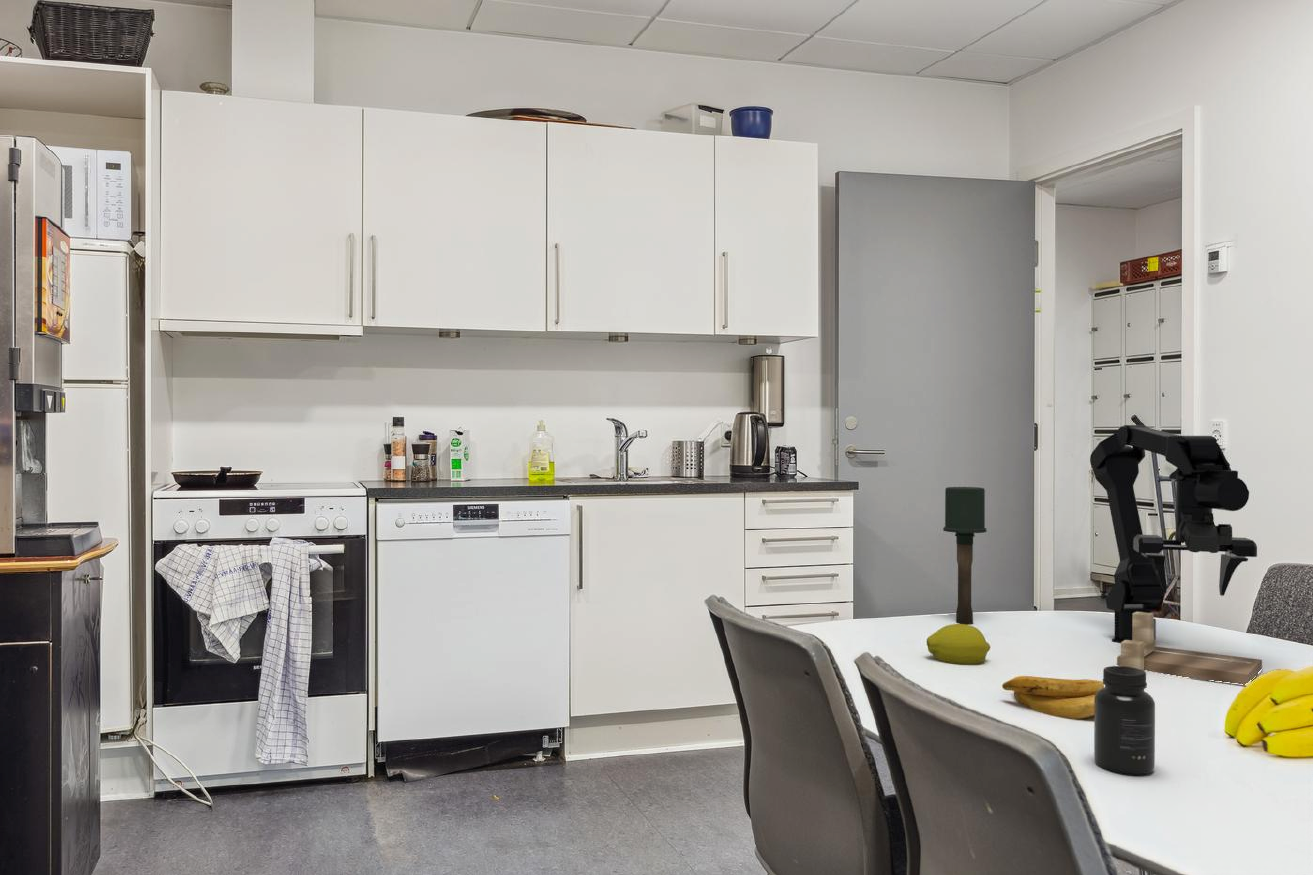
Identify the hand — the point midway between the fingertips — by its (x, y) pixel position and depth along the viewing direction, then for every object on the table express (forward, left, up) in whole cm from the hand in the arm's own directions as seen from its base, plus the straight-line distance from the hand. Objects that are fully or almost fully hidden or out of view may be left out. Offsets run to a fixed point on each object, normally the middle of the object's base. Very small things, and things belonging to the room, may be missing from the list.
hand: (1192, 594), depth 178 cm
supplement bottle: (+5, -66, -13) cm, 67 cm away
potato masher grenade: (-43, +2, -13) cm, 45 cm away
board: (0, -4, -13) cm, 13 cm away
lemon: (-31, -30, -13) cm, 45 cm away
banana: (-8, -43, -13) cm, 46 cm away
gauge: (-7, -2, -11) cm, 13 cm away
